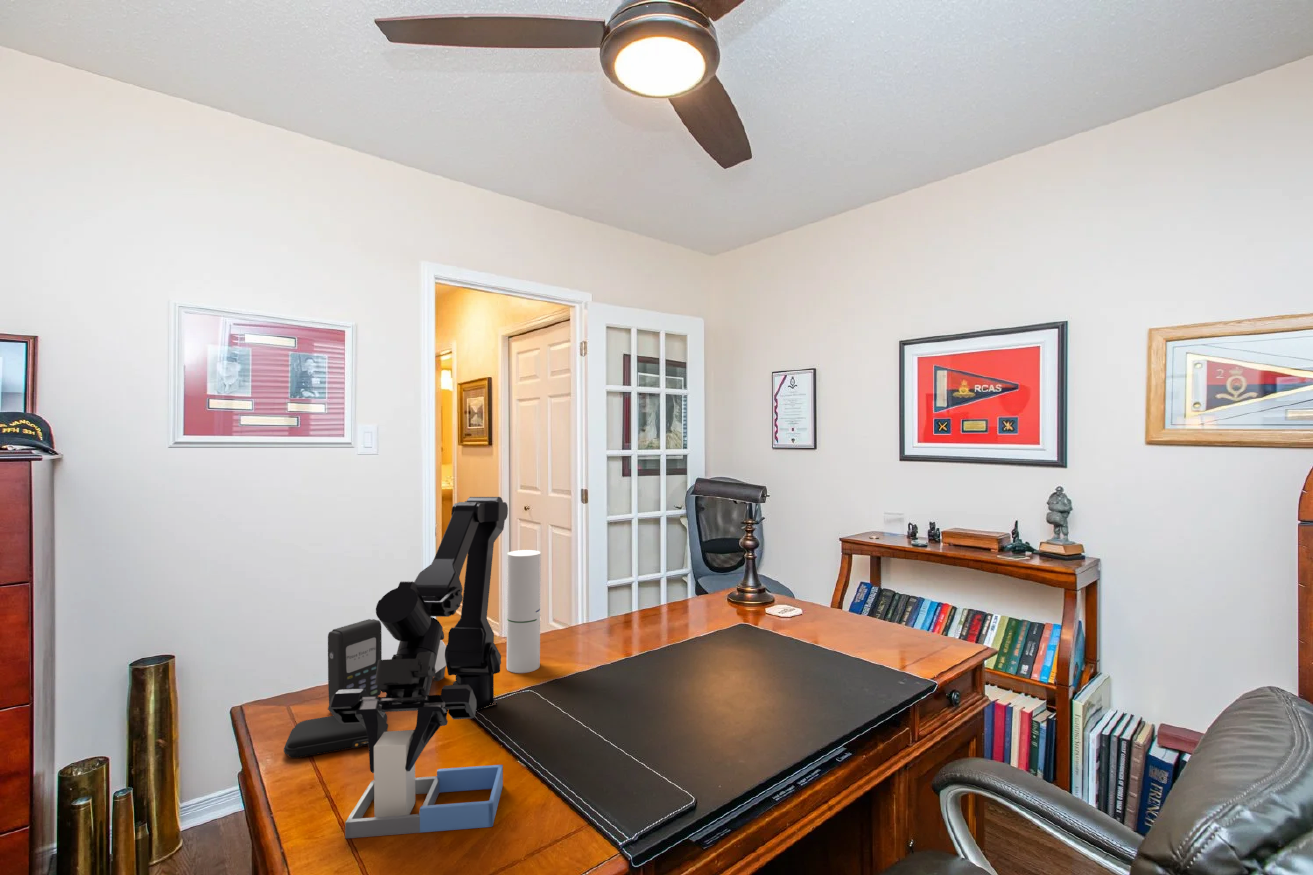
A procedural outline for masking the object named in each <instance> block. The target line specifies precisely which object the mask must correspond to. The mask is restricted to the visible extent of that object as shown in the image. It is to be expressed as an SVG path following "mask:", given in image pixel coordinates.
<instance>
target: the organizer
mask: <svg viewBox="0 0 1313 875" xmlns="http://www.w3.org/2000/svg"><path fill="white" fill-rule="evenodd" d="M503 767H504V765H503V764H493V765H477V766H466V767H465V766H464V767H463V766H461V767H450V768H448V767H447V768H438V769H437V771H436V776H435V775H434V776H421V777H415V795H422V794H423V795H425V794H427V795H426V797H425V800H424V802H423V804H422V805H421V806H420V807H419V812H418V813H416V814H410V815H399V816H386V817H364V815H365V813H366V811H367V810H368V809H369V807H370V805H371V803H372V802H373V801H374V780H371V782H370V783H369V784H368V786H367V787H366V789H365V790H364V792H363V794H362V795H361V797H360V799H359V800H358V802H357V804H356V805H355V806H354V808H353V810H352V811H351V813H350V814H349V816H348V817H347V819H346V820H345V822H344V830H345V831H344V832H345V833H344V835H345V838H344V839H355V838H367V837H369V838H370V837H380V836H381V837H382V836H395V835H405V834H419V833H431V832H444V831H454V830H455V831H456V830H468V829H478V828H479V829H481V828H491V827H493V826H494V822H495V818H496V814H497V810H498V806H499V803H500V800H501V799H500V798H501V795H502V791H503V786H504V772H503V771H504V768H503ZM479 790H480V791H481V790H491V792H490V797H489V800H484V801H471V802H470V801H467V802H455V803H443V804H436V801H437V799H438V796H439V794H440V793H450V792H464V791H479Z"/></svg>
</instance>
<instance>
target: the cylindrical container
mask: <svg viewBox="0 0 1313 875" xmlns="http://www.w3.org/2000/svg"><path fill="white" fill-rule="evenodd" d="M541 556H542V552H541V551H540V550H534V549H519V550H518V549H517V550H512V551H508V552H507V555H506V557H507V558H506V563H507V564H506V565H507V567H506V573H507V574H506V575H507V576H506V581H507V582H506V584H507V585H506V670H507V671H508V672H511V673H514V674H526V673H530V672H534V671H536V670H538V669H539V668H540V666H541V665H540V664H541V559H542V558H541Z"/></svg>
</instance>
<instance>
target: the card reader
mask: <svg viewBox="0 0 1313 875" xmlns="http://www.w3.org/2000/svg"><path fill="white" fill-rule="evenodd" d="M382 638H383V637H382V622H381V621H380V620H379V619H375V618H374V619H373V618H372V619H370V618H368V619H364V620H361V621H358V622H353V623H351V624H347V625H344V626H341V627H337V628H334V629H332V630H331V631H329V632H328V634H327V678H328V679H327V680H328V681H327V684H328V686H327V687H328V705H329V704H330V701H331V698H332V696H333V695H334V694H335V693H336V692H337V691H338V690H346V689H365V691H366V692H367V694H368V695H369V696H370V697H379V696H381V693H382V691H381V690H380V687H381V685H375V679H376V672H377V665H378V660H383V659H382V658H383V657H382V653H383V652H382Z"/></svg>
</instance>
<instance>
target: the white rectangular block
mask: <svg viewBox="0 0 1313 875" xmlns="http://www.w3.org/2000/svg"><path fill="white" fill-rule="evenodd" d="M414 731H415V729H406V730H404V729H403V730H389V731H388V730H387V732H384V733H383V734H382V736H381V737H380V738H379V740H378V741H377V743H376V744H375V746H374V773H373V781H374V798H373V802H374V803H373V804H374V808H373V809H374V810H373V811H374V812H373V814H374V815H373V816H374V817H386V816H399V815H411V813H412V812H413V808H414V806H415V804H416V794H415V778H416V763H415V764H414V765H413V767H412V769H411V770H410V771H406V770H405V766H406V761H407V755H408V752H409V748H410V745H411V741H412V738H413V734H414Z"/></svg>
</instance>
